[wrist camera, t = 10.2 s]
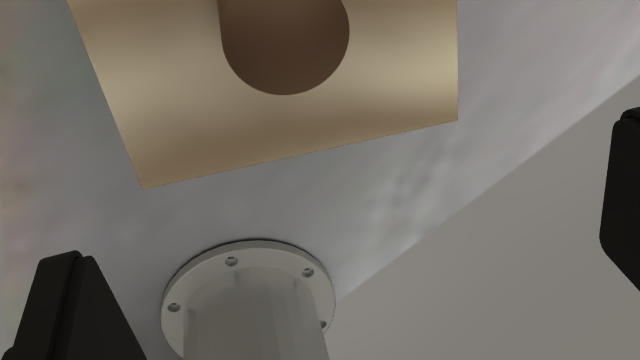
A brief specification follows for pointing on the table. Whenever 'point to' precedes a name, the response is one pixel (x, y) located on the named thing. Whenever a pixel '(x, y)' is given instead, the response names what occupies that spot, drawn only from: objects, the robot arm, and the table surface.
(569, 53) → the table surface
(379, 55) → the cover
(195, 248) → the table surface
